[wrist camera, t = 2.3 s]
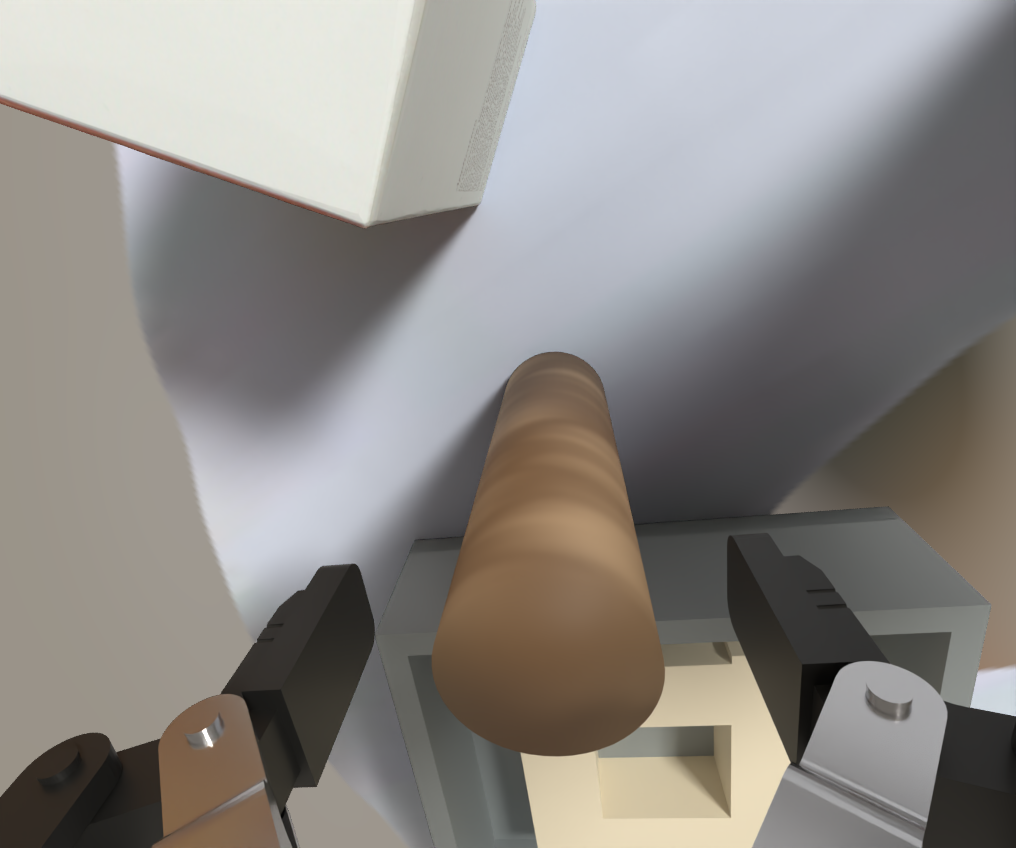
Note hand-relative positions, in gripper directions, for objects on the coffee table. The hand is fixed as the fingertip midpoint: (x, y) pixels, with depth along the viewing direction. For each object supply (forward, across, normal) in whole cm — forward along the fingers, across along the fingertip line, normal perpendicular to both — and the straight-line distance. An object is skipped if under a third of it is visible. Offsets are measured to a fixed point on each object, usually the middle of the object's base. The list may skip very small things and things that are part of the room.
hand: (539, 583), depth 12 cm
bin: (+11, -3, +16) cm, 20 cm away
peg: (+11, 0, 0) cm, 11 cm away
